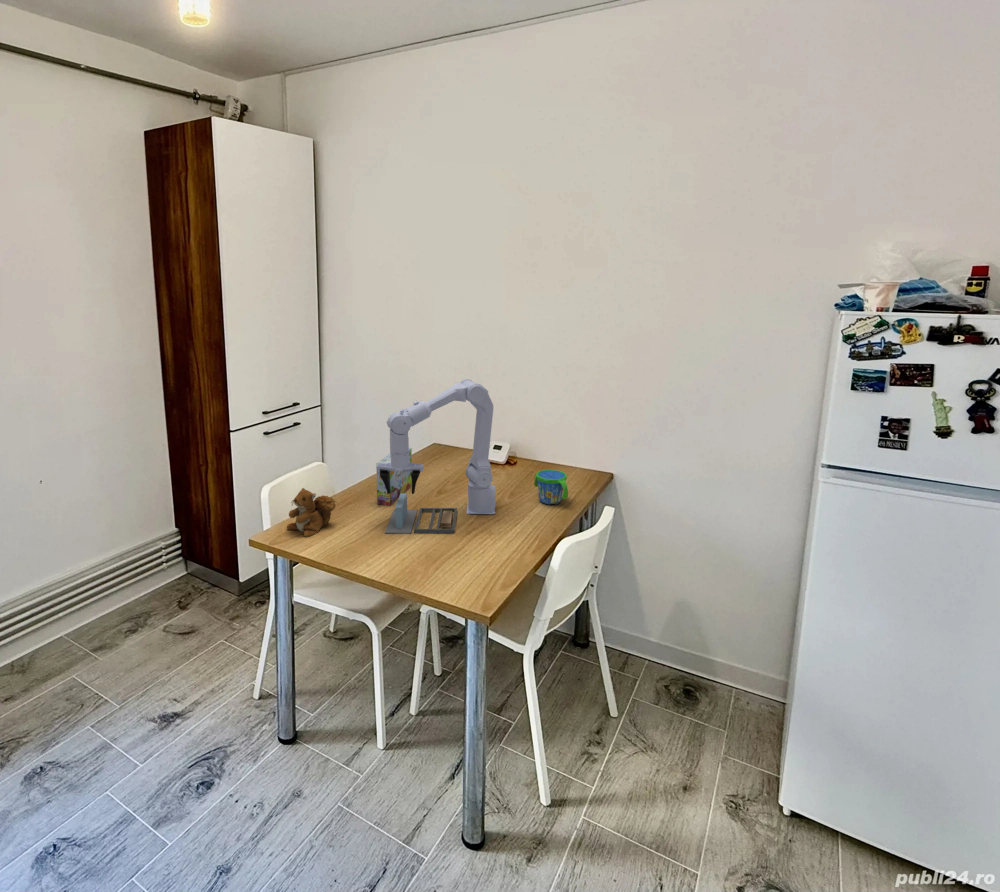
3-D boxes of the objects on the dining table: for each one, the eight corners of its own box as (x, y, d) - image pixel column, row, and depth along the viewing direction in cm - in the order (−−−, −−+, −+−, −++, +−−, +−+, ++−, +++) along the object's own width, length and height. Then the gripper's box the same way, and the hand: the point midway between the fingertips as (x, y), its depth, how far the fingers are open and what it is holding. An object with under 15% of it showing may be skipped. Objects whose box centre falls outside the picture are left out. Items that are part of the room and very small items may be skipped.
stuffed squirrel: (284, 530, 183) (280, 490, 179) (324, 516, 193) (321, 478, 189) (300, 539, 177) (297, 498, 173) (341, 525, 187) (339, 486, 183)
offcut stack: (452, 514, 196) (452, 509, 196) (450, 529, 185) (450, 523, 184) (443, 514, 196) (443, 508, 195) (441, 529, 185) (440, 523, 184)
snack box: (392, 506, 202) (390, 464, 198) (376, 504, 203) (374, 463, 199) (413, 485, 222) (412, 446, 218) (399, 484, 223) (397, 445, 219)
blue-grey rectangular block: (407, 513, 196) (406, 493, 194) (402, 528, 184) (401, 507, 182) (401, 513, 196) (400, 493, 194) (395, 528, 184) (395, 507, 182)
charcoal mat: (417, 510, 199) (417, 509, 199) (410, 533, 181) (410, 532, 181) (393, 510, 199) (393, 509, 198) (384, 533, 181) (384, 532, 181)
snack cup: (575, 506, 205) (577, 478, 202) (550, 512, 200) (551, 483, 197) (550, 492, 218) (551, 465, 215) (525, 496, 212) (526, 470, 210)
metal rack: (457, 511, 199) (457, 508, 198) (454, 533, 182) (454, 530, 182) (420, 511, 198) (420, 507, 198) (413, 533, 182) (413, 529, 181)
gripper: (373, 455, 179) (375, 497, 183) (421, 455, 180) (422, 497, 184) (377, 448, 186) (379, 489, 190) (424, 448, 187) (425, 489, 190)
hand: (401, 492), depth 187 cm, fingers open, 7 cm apart
